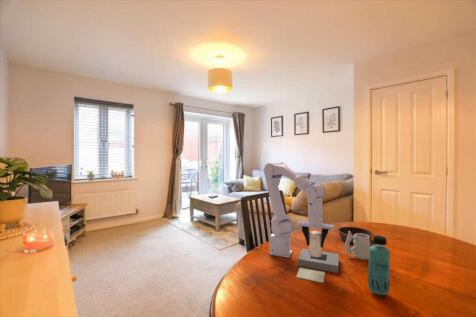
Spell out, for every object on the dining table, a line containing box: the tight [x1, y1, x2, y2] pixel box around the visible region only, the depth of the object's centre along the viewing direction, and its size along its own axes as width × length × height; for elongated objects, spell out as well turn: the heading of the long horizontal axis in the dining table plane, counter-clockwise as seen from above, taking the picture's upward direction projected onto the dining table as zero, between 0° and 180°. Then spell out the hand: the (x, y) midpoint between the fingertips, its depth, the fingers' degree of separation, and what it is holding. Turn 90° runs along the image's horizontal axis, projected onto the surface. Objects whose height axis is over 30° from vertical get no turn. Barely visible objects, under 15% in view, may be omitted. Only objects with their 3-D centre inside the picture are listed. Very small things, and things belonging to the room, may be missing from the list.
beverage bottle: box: [367, 235, 391, 296], centre depth 83 cm, size 6×7×20 cm
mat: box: [295, 267, 326, 284], centre depth 96 cm, size 10×8×1 cm
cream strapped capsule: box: [308, 230, 323, 257], centre depth 100 cm, size 7×5×9 cm
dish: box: [337, 226, 375, 246], centre depth 133 cm, size 18×22×5 cm
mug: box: [344, 231, 371, 261], centre depth 112 cm, size 8×12×12 cm, turn 93°
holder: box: [297, 248, 340, 274], centre depth 106 cm, size 16×12×3 cm
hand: (315, 245), depth 100 cm, fingers closed on cream strapped capsule, 5 cm apart
